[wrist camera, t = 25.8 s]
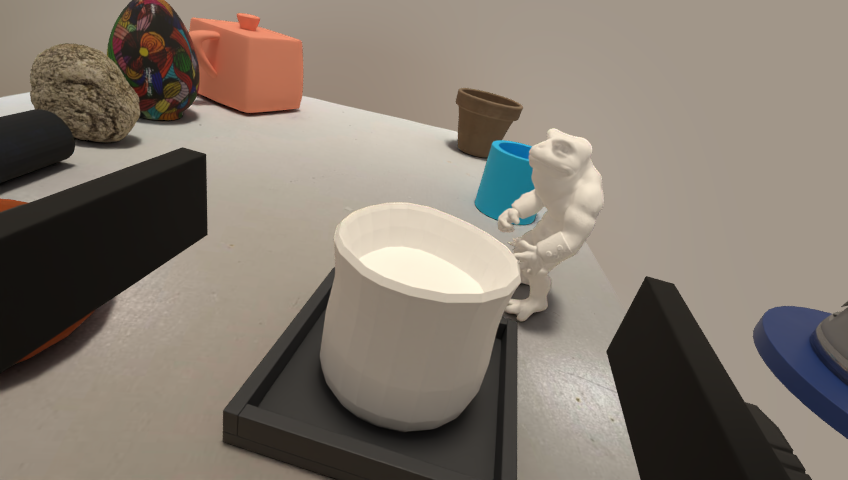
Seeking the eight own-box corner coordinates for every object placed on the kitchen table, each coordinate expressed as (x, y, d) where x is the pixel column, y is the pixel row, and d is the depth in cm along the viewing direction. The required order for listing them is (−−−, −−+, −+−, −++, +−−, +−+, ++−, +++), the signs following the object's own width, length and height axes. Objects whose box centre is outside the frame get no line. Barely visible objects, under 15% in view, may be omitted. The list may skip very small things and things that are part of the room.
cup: (337, 311, 32) (357, 187, 28) (472, 341, 33) (512, 223, 28) (293, 417, 24) (310, 263, 19) (475, 457, 24) (533, 314, 20)
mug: (538, 230, 56) (561, 169, 52) (474, 215, 56) (493, 152, 52) (528, 196, 66) (546, 143, 63) (474, 183, 66) (490, 129, 63)
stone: (116, 155, 49) (106, 58, 44) (25, 134, 48) (6, 35, 44) (151, 140, 54) (145, 53, 50) (70, 122, 54) (56, 32, 49)
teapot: (321, 110, 84) (330, 30, 78) (220, 120, 66) (221, 18, 60) (247, 81, 91) (250, 6, 85) (138, 84, 73) (131, -11, 67)
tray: (508, 344, 34) (517, 321, 33) (502, 535, 22) (517, 506, 20) (330, 290, 36) (333, 266, 34) (222, 441, 23) (222, 410, 22)
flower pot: (502, 150, 87) (518, 98, 83) (509, 168, 77) (528, 110, 72) (445, 137, 87) (458, 83, 82) (444, 153, 76) (459, 94, 72)
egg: (91, 109, 59) (75, -19, 52) (154, 99, 68) (147, -11, 61) (162, 131, 57) (155, 2, 51) (216, 118, 67) (216, 7, 60)
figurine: (569, 338, 37) (650, 168, 30) (492, 326, 36) (557, 148, 29) (537, 269, 46) (593, 128, 40) (475, 258, 46) (522, 112, 39)
